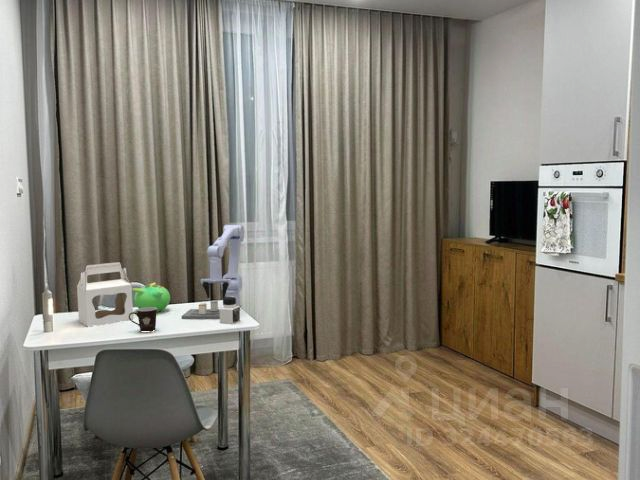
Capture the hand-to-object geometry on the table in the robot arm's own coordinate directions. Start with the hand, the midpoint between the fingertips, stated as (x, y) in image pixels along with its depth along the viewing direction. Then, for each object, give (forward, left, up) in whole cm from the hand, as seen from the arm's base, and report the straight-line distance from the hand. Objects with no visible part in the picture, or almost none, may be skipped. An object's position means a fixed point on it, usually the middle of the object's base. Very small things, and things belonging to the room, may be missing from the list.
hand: (216, 297), depth 285 cm
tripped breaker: (0, -7, -8) cm, 11 cm away
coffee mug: (+26, -26, -10) cm, 38 cm away
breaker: (-7, -3, -8) cm, 11 cm away
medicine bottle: (+9, +9, -10) cm, 16 cm away
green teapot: (-11, -36, -10) cm, 40 cm away
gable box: (+8, -52, -10) cm, 54 cm away
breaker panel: (-4, -7, -10) cm, 13 cm away
